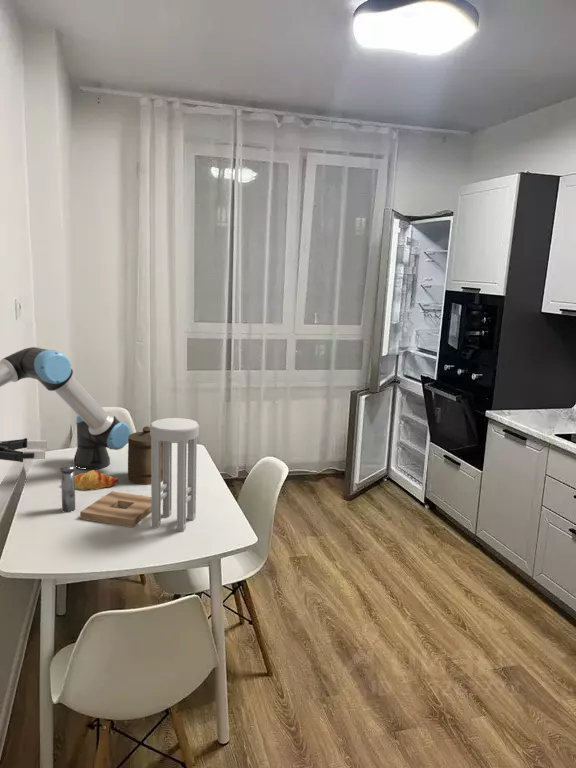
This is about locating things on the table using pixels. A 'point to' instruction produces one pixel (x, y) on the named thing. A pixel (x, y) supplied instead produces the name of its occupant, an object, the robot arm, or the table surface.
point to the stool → (169, 433)
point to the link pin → (68, 487)
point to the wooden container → (141, 457)
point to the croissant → (94, 480)
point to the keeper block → (112, 514)
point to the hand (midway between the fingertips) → (46, 449)
